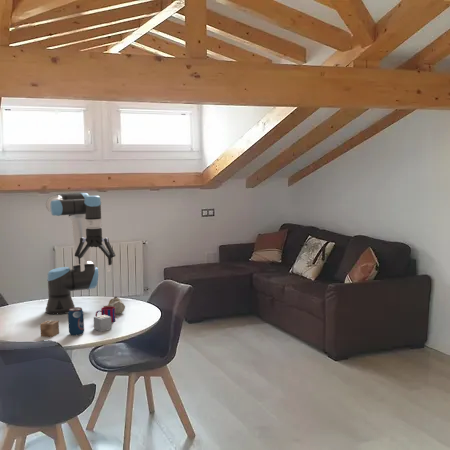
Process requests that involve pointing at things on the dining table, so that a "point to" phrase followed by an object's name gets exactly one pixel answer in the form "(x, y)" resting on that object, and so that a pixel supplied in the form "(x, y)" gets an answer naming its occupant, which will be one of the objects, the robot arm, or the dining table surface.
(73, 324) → the soda can
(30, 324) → the dining table surface
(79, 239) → the robot arm
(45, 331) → the walnut numbered block
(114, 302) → the ceramic sculpture
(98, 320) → the slate numbered block
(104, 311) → the mug
